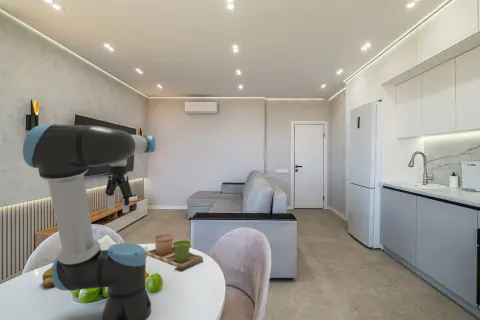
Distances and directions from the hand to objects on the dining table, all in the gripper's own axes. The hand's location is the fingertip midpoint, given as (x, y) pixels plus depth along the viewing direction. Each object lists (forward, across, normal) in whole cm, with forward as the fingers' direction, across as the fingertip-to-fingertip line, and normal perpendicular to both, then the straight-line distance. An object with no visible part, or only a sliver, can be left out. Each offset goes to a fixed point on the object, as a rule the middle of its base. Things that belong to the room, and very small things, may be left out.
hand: (118, 210), depth 118 cm
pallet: (+29, +9, +24) cm, 39 cm away
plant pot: (+27, +16, +24) cm, 40 cm away
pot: (+27, +2, +24) cm, 37 cm away
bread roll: (+29, -12, -21) cm, 38 cm away
